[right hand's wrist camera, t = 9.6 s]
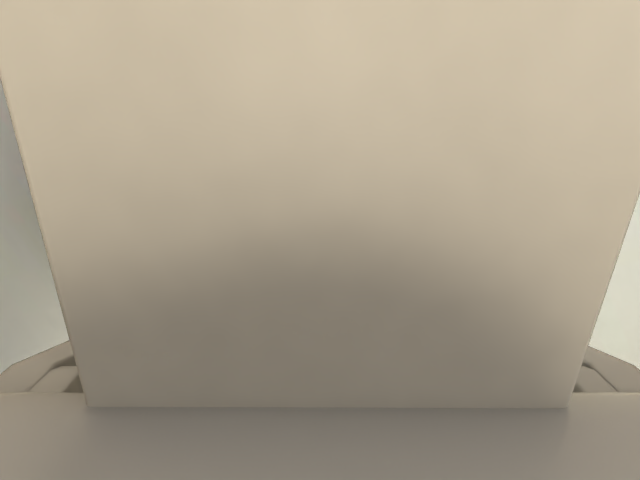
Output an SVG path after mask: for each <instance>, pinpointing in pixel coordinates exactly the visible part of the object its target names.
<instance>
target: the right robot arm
mask: <svg viewBox="0 0 640 480" xmlns="http://www.w3.org/2000/svg"><path fill="white" fill-rule="evenodd" d="M0 480H640V370H639V369H638V368H637V367H635V366H634V365H632V364H630V363H627V362H625V361H623V360H620V359H618V358H616V357H613V356H611V355H609V354H606V353H604V352H602V351H599V350H597V349H595V348H592V347H590V346H588V348H587V351H586V354H585V357H584V359H583V362H582V365H581V368H580V371H579V374H578V377H577V380H576V383H575V386H574V389H573V392H572V395H571V398H570V401H569V404H568V407H566V408H258V407H89V406H87V404H86V400H85V396H84V392H83V389H82V385H81V381H80V377H79V373H78V370H77V366H76V362H75V358H74V355H73V351H72V347H71V343H70V340H69V341H66V342H64V343H62V344H59V345H57V346H55V347H52V348H50V349H48V350H45V351H43V352H41V353H38V354H36V355H34V356H31V357H29V358H27V359H24V360H22V361H20V362H17V363H15V364H13V365H11V366H10V367H9V368H8V369H6V370H5V371H4V372H3V373H2V374H0Z"/></svg>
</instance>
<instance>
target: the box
mask: <svg viewBox="0 0 640 480" xmlns="http://www.w3.org/2000/svg"><path fill="white" fill-rule="evenodd" d="M0 79H1V82H2V86H3V90H4V94H5V98H6V101H7V105H8V109H9V113H10V117H11V120H12V124H13V128H14V132H15V135H16V139H17V143H18V147H19V151H20V154H21V158H22V162H23V166H24V169H25V173H26V177H27V181H28V185H29V188H30V192H31V196H32V200H33V203H34V207H35V211H36V215H37V219H38V222H39V226H40V230H41V234H42V237H43V241H44V245H45V249H46V253H47V256H48V260H49V264H50V268H51V271H52V275H53V279H54V283H55V287H56V290H57V294H58V298H59V302H60V305H61V309H62V313H63V317H64V321H65V324H66V328H67V332H68V336H69V339H70V343H71V347H72V351H73V355H74V358H75V362H76V366H77V370H78V373H79V377H80V381H81V385H82V389H83V392H84V396H85V400H86V404H87V406H89V407H258V408H566V407H568V404H569V401H570V398H571V395H572V392H573V389H574V386H575V383H576V380H577V377H578V374H579V371H580V368H581V365H582V362H583V359H584V357H585V354H586V351H587V348H588V345H589V342H590V339H591V336H592V333H593V330H594V327H595V324H596V321H597V318H598V315H599V312H600V309H601V306H602V303H603V300H604V297H605V294H606V291H607V288H608V285H609V282H610V279H611V277H612V274H613V271H614V268H615V265H616V262H617V259H618V256H619V253H620V250H621V247H622V244H623V241H624V238H625V235H626V232H627V229H628V226H629V223H630V220H631V217H632V214H633V211H634V208H635V205H636V202H637V200H638V197H639V194H640V0H0Z"/></svg>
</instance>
